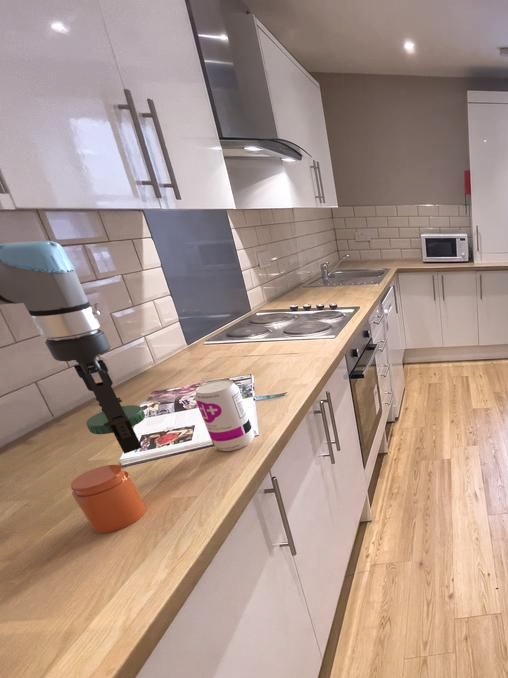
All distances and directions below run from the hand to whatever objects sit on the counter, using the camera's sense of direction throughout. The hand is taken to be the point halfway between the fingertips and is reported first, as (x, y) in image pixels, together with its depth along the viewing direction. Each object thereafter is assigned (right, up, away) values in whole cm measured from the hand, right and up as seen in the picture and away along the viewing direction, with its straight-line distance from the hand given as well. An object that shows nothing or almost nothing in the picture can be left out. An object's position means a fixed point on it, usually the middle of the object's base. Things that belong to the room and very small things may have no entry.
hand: (128, 441), depth 82 cm
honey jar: (+5, -13, -7) cm, 15 cm away
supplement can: (+11, -3, +15) cm, 19 cm away
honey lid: (0, +5, -3) cm, 6 cm away
